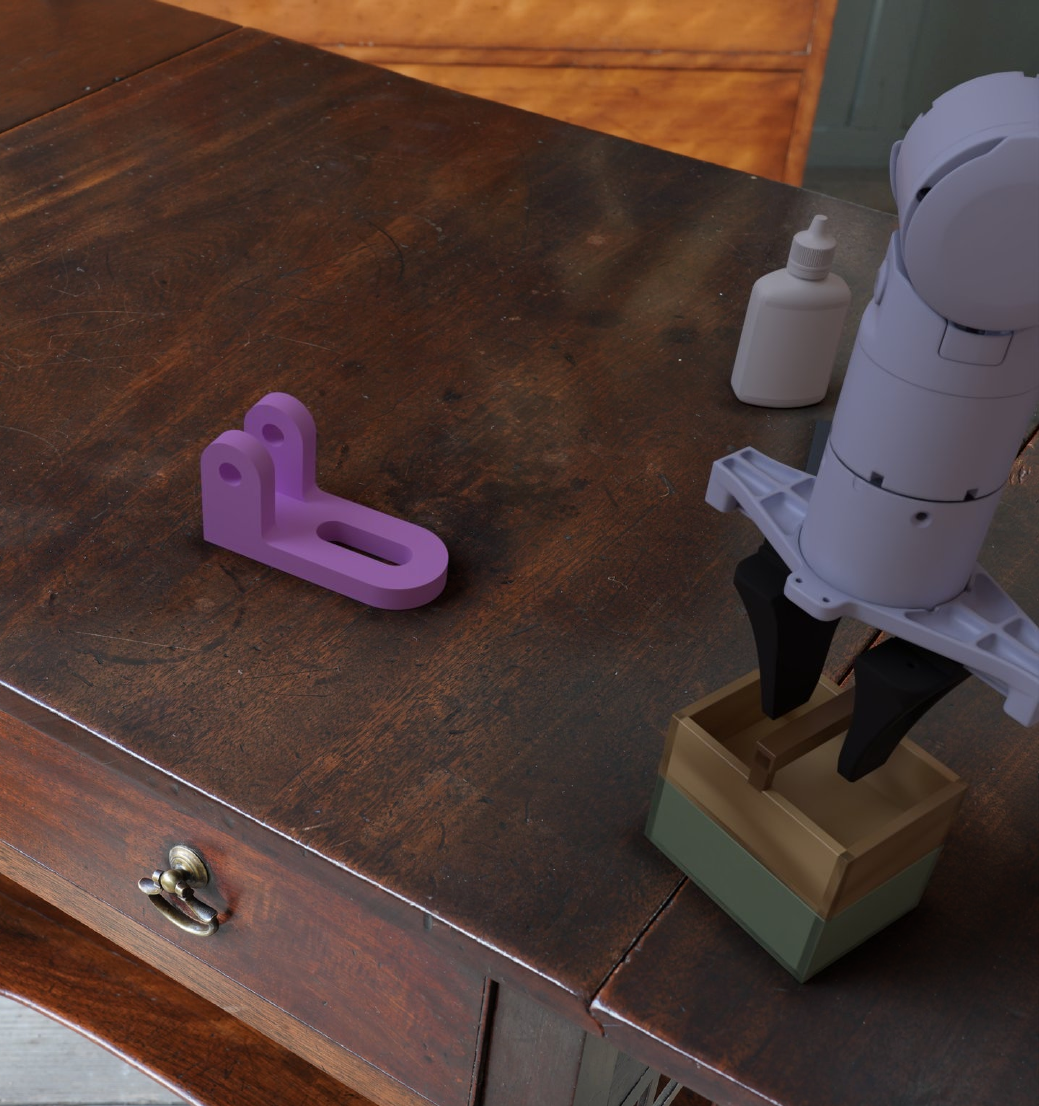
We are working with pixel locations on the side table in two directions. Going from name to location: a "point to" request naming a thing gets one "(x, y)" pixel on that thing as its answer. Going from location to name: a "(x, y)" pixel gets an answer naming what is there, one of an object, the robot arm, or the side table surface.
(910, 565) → the robot arm
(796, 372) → the eye dropper bottle
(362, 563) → the bracket
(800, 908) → the box
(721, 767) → the top basket
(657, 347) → the side table surface
